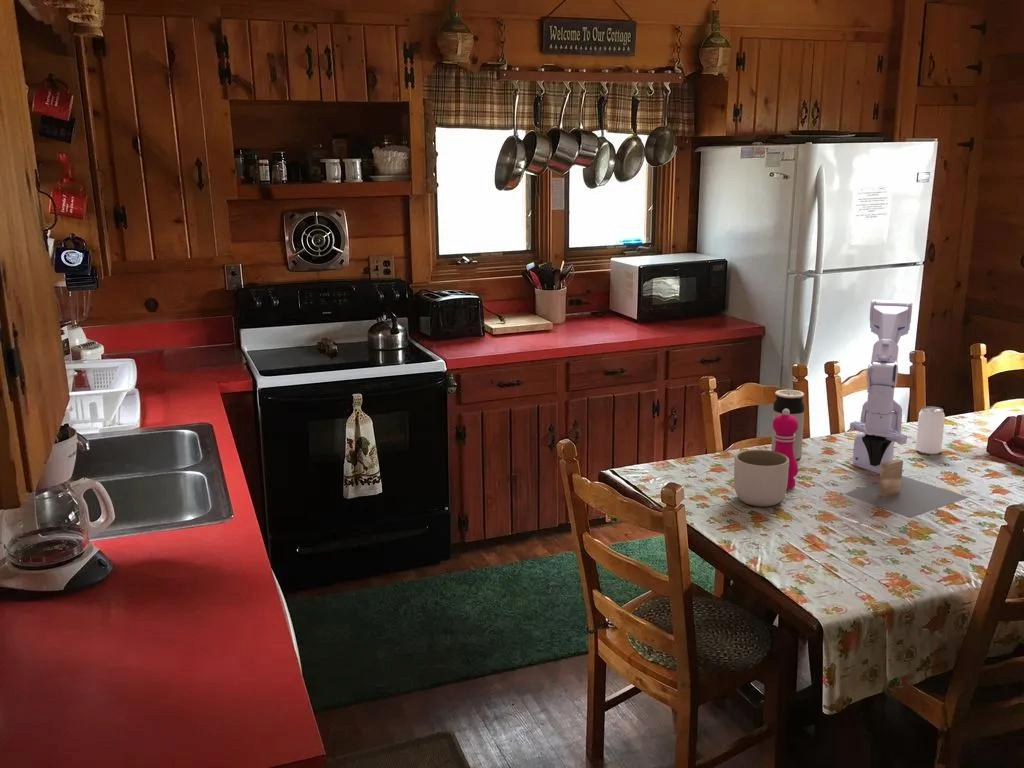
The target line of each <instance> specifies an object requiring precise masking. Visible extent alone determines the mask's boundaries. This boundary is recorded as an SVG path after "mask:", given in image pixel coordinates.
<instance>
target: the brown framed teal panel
mask: <svg viewBox="0 0 1024 768" xmlns="http://www.w3.org/2000/svg"><path fill="white" fill-rule="evenodd" d="M903 465H904V460H903V459H899V458H895V459H894V458H893V460H891V461H888V462H884V463H881V471H880V473H879V482H878V483H879V495H880V496H883V497H886V496H889V495H892V494H895V493H898V492H900V490H901V479H902V476H903Z"/></svg>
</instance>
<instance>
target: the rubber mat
mask: <svg viewBox="0 0 1024 768" xmlns="http://www.w3.org/2000/svg"><path fill="white" fill-rule="evenodd" d="M879 483H880V482H877V483H874V484H871V485H867V486H864V487H861V488H858V489H853V490H851V491H847V492H844V493H843V494H844V495H846V496H849V497H852V498H855V499H857V500H860V501H862V502H865V503H868V504H871V505H874V506H876V507H879V508H882V509H885V510H887V511H890V512H893V513H896V514H898V515H901V516H904V517H907V518H909V519H911V518H914V517H917V516H920V515H923V514H926V513H929V512H931V511H934V510H937V509H939V508H943V507H945V506H946V507H947V506H949V505H951V504H954V503H956V502H959V501H962V500H965V499H969V498H970V497H969V496H966V495H965V494H964V495H963V494H960V493H957V492H954V491H951V490H948V489H946V488H945V489H944V488H941V487H939V486H936V485H934V484H933V485H932V484H929V483H926V482H923V481H920V480H917V479H913V478H911V477H907V476H905V475H902V479H901V490H900V492H898V493H895V494H892V495H889V496H886V497H883V496H880V495H879Z"/></svg>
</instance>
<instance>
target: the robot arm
mask: <svg viewBox="0 0 1024 768" xmlns="http://www.w3.org/2000/svg"><path fill="white" fill-rule="evenodd" d="M912 315H913V302H912V301H911V300H893V299H892V300H891V299H889V300H888V299H887V300H886V299H876V298H874V299H872V300H871V301H870V309H869V328H870V332H871V333H873V334H875V335H877V337H878V340H877V341H876V342H875V343H874V344H873V347H872V355H871V360H870V361H871V362H870V363H869V364H868V366H867V371H866V373H867V376H866V382H867V390H866V391H867V400H866V401H864V403H863V404H862V406H861V407H862V409H861V413H860V421H857V420H855V421H851V422H850V423H849V430H850V431H854V432H855V431H856V432H858V433H857V434H856V436H855V438H854V442H853V451H852V461H851V462H850V464H851V465H853V466H856V467H859V468H861V469H866V470H868V471H871V472H874V473H878V474H880V471H881V463H884V462H888V461H891V460H894V452H895V451H894V450H895V443H897V444H898V445H905V444H907V440H908V439H907V438H908V435H906V434H904V433H902V421H903V408H902V405H901V404H900V403H899V402H897V401H896V400H895V399H894V397H895V396H894V395H895V387H896V386H897V382H898V375H899V374H898V373H899V367H898V366H899V365H898V358H899V345H898V344H899V341H900V339H901V337H903V336H906V335H908V334H909V331H910V330H911V323H912Z"/></svg>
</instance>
